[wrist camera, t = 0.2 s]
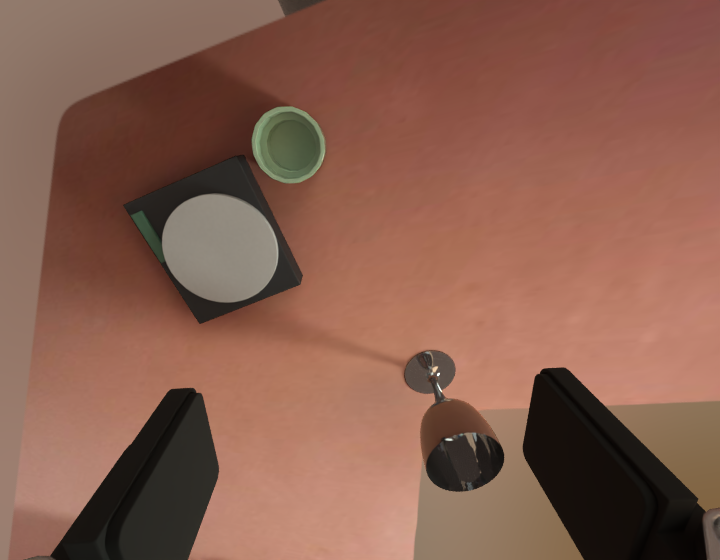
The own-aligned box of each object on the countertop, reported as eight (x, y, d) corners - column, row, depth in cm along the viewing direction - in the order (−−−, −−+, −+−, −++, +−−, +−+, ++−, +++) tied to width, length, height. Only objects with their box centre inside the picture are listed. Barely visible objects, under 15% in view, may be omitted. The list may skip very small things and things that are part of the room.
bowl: (258, 111, 37) (247, 107, 32) (324, 110, 37) (321, 105, 33) (266, 179, 39) (256, 184, 35) (328, 177, 39) (326, 181, 35)
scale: (138, 200, 39) (117, 206, 36) (243, 154, 38) (233, 155, 34) (208, 313, 44) (196, 327, 41) (303, 275, 43) (299, 287, 40)
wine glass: (448, 339, 48) (493, 421, 34) (465, 383, 50) (512, 476, 36) (393, 360, 48) (414, 449, 34) (413, 403, 51) (440, 501, 37)
